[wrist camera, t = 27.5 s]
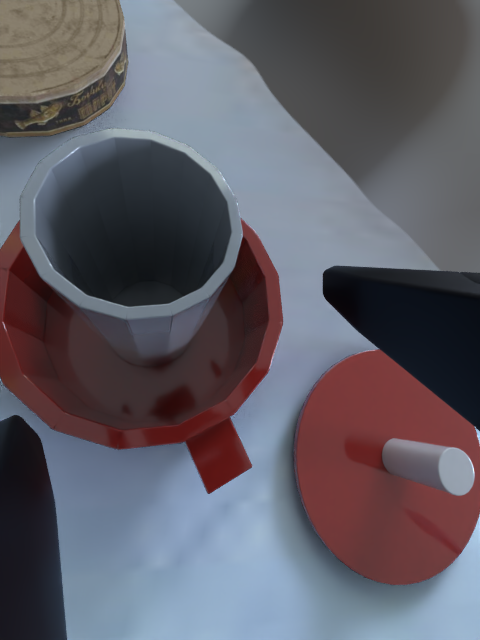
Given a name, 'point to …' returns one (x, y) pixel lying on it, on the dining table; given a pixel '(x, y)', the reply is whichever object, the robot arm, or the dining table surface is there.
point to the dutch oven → (142, 381)
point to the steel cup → (132, 238)
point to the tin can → (59, 63)
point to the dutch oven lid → (386, 471)
